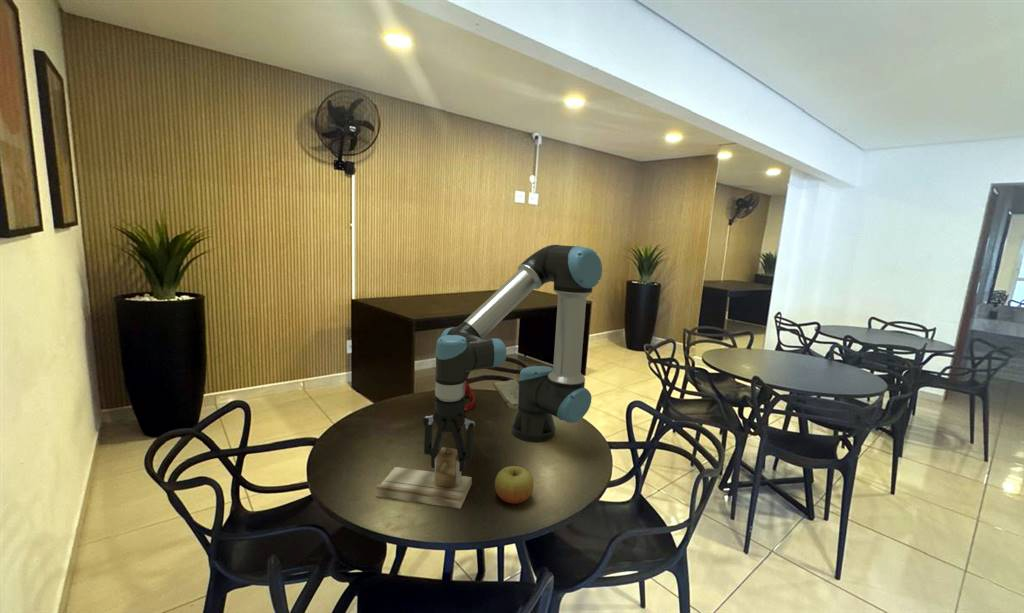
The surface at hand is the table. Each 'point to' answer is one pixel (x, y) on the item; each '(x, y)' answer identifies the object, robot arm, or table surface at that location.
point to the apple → (514, 484)
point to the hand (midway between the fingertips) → (447, 480)
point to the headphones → (470, 406)
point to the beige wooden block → (446, 467)
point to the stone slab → (508, 392)
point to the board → (422, 488)
